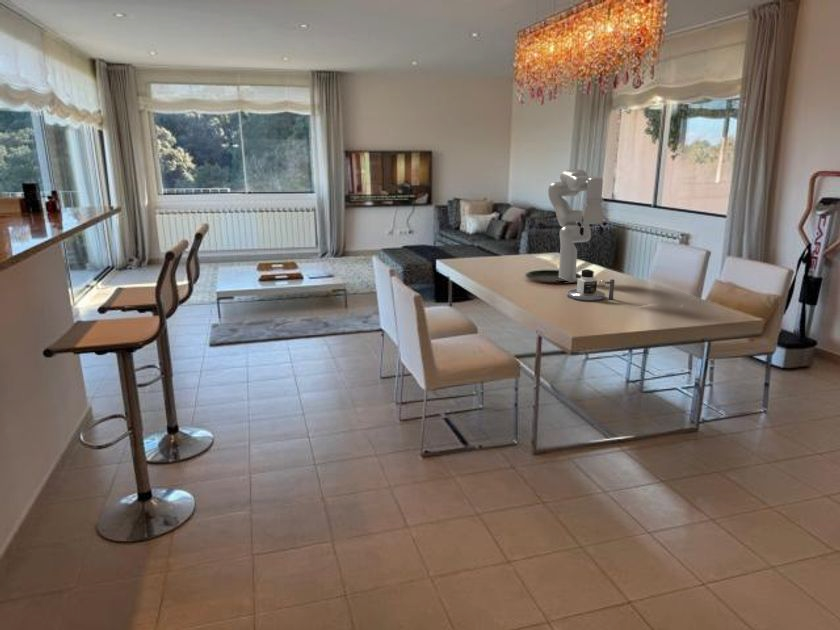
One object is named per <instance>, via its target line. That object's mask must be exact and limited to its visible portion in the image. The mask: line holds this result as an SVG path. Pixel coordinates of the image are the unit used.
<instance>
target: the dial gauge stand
mask: <svg viewBox="0 0 840 630" xmlns="http://www.w3.org/2000/svg"><path fill="white" fill-rule="evenodd" d="M598 283H599V286H600V287H602V288H603V287H605V286H606V285H609V291H608V297H605V298H606V299H605V300H607V301H616V299H615V298H614V291H615V279H609V281H606V280H605V279H601V280H599V282H598Z"/></svg>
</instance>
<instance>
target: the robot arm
mask: <svg viewBox="0 0 840 630" xmlns="http://www.w3.org/2000/svg"><path fill="white" fill-rule="evenodd" d="M559 179H560V181H555V182H553V183H550V185H548V190H547V191H548V193H547V194H548V199H549V201H550V203H551V205H552V206H553V208H554V212H555V214H556V219H557V222H558V224H559V226H560V227H561V228H560V230H559V240H560V251H559V263H558V265H559V268H558V277H559V278H561V279H564V280H566V281H569V282H568V283H577V281H578V277H576V274H577V262H578V260H577V259H578V249H577V246H576V245H575V243H576V244H577V243H586V242H587V243H588V242H589V241H590V240H591V237H592V232H591V228H590V225H598V226H599V227H598V235H599V236H602V235H603V232H604V227H605V226H606V225H607V224H608V222H609V221H610V219H609V218H608V217H606V216H604V213H603V212H604V211H603V208H604V207H603V204H602V203H604V202H605V199H603V198H602V194H603V183H604V180H603V178H602V177H599V176H596V175H589V176H588V174H587V171H586V170H584V169H566V170H563V171H562V172H561V174H560V177H559ZM580 192H586V195H585V196H586V198H585V204H583V206H582V210H579V209H578V210H576V209H575V210H574V209H573V210H572V209H571V206H570V204H569V202H568V201H567V200H566V199H565V198H564V197H575V196H578V195H579V194H580ZM603 221H604V222H603Z"/></svg>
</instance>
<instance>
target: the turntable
mask: <svg viewBox="0 0 840 630" xmlns="http://www.w3.org/2000/svg"><path fill="white" fill-rule="evenodd" d="M567 293H568V294H567V295H568V297H569V298H568V297H567V298H568V299H570V298H571V299H570V300H573V299H574V300H573V301H577V300H579V301H578V302H584V301H597V302H602V301H601V300H603V299H604V298H606V293H604V292H603V291H601V290H597V289H596V294H590V295H583V294H581V293H578V292H577V288H576V289H575V288H574V289H570V290H569V291H568V292H567ZM603 301H604V300H603Z"/></svg>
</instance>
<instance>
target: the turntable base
mask: <svg viewBox="0 0 840 630" xmlns="http://www.w3.org/2000/svg"><path fill="white" fill-rule="evenodd" d="M566 296H567V298H568V299H570V300H573V301H575V300H574V299H571V298H569V297H568V294H567V295H566ZM606 298H607V297H605V298H604V299H603V300H601V301H600V302H602V301H605V300H607V299H606ZM576 301H578V302H580V301H579V300H576ZM583 302H586V303H590V302H591V303H592V302H593V303H596V302H598V301H583Z"/></svg>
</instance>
